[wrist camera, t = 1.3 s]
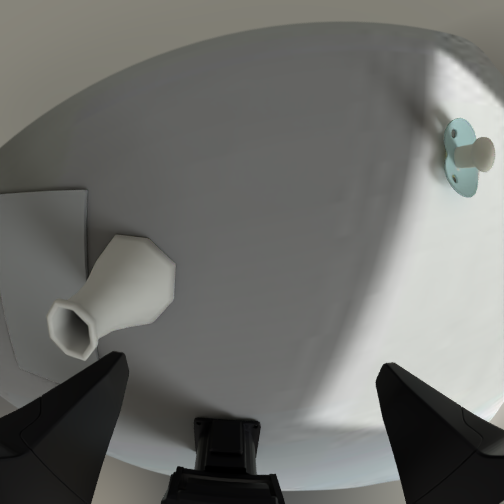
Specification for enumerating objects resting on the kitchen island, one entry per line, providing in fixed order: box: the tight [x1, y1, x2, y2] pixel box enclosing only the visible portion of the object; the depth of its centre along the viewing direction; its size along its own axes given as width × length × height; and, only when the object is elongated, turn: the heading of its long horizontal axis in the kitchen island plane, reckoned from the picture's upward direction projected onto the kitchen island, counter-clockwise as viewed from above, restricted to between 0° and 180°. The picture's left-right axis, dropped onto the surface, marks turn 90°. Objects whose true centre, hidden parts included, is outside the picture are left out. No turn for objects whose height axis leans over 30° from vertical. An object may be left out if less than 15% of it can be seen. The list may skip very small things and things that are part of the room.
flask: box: [46, 234, 176, 361], centre depth 16 cm, size 7×7×10 cm
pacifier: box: [444, 118, 495, 197], centre depth 17 cm, size 7×6×6 cm
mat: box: [0, 190, 99, 384], centre depth 21 cm, size 20×13×1 cm, turn 175°
